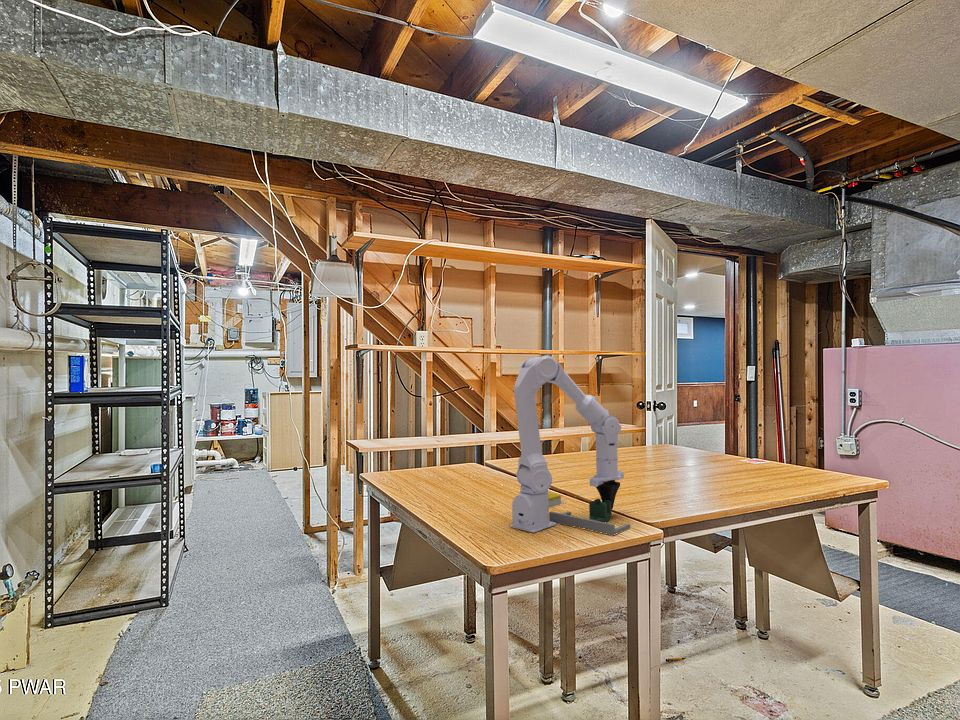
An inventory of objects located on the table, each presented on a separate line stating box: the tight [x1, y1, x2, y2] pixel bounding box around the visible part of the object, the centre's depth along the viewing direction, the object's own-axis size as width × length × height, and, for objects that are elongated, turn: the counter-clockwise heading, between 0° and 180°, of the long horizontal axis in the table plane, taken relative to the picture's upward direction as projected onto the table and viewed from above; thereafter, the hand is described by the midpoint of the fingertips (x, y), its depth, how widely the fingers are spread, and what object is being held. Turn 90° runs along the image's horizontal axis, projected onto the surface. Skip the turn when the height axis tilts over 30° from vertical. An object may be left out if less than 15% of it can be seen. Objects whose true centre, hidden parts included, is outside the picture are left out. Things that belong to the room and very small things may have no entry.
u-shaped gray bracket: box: [549, 511, 631, 536], centre depth 133 cm, size 8×19×2 cm, turn 45°
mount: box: [588, 498, 613, 523], centre depth 137 cm, size 11×4×5 cm, turn 144°
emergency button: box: [548, 491, 567, 508], centre depth 155 cm, size 9×4×15 cm
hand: (608, 508), depth 140 cm, fingers closed
